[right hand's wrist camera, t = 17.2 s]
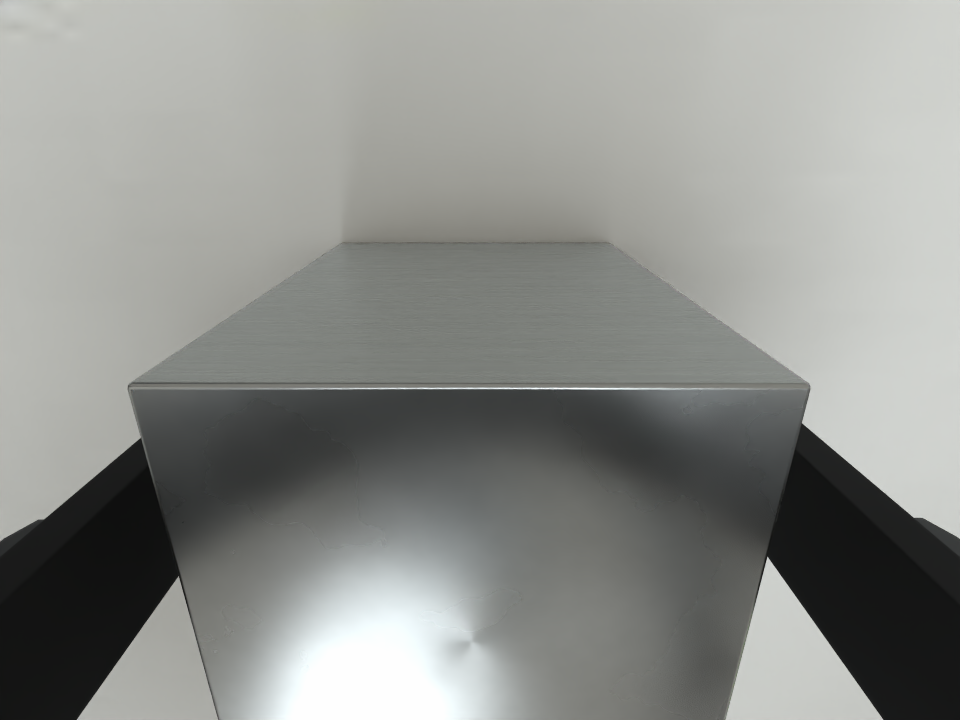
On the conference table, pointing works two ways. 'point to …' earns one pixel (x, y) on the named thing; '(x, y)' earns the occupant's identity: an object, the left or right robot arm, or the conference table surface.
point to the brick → (470, 488)
